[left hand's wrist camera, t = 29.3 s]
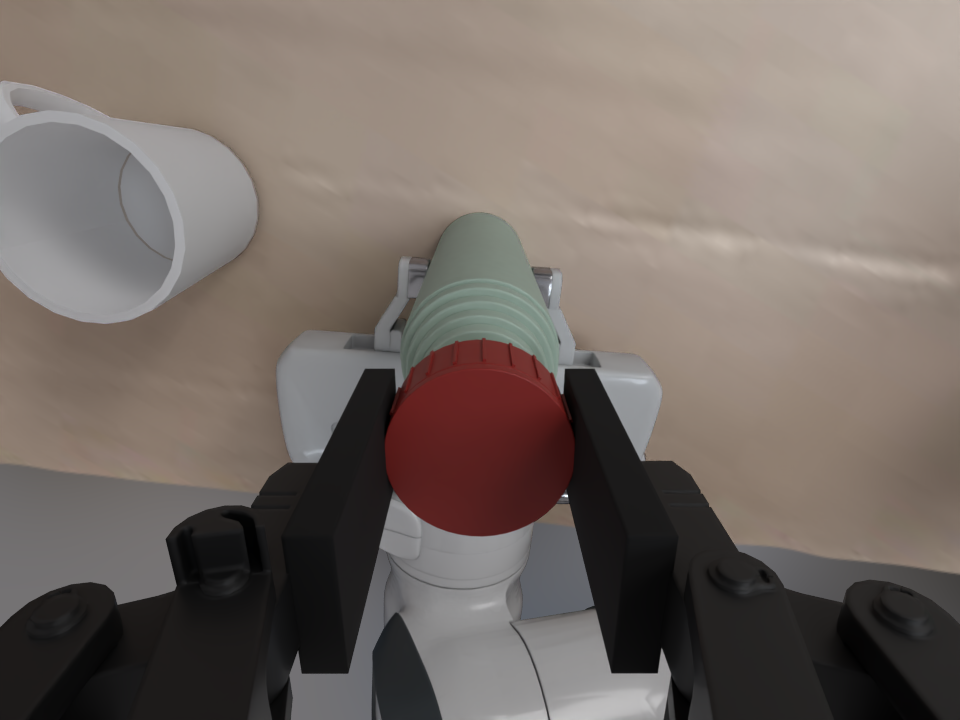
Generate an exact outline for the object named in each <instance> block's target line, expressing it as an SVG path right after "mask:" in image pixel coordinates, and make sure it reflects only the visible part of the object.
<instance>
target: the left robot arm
mask: <svg viewBox="0 0 960 720" xmlns="http://www.w3.org/2000/svg"><path fill="white" fill-rule="evenodd" d="M563 394H564V396H565V399H566V402H567V405H568V408H569V411H570V414H571V417H572V420H573V422H572V423H571V426H572V429H573V432H574V437H575V451H574V466H573V475H572V478H571V480H570V483H569V485H568V487H567V489H566V491H567V495H568V499H569V503H570V507H571V511H572V515H573V519H574V523H575V527H576V531H577V535H578V540H579V543H580V548H581V552H582V556H583V560H584V564H585V568H586V572H587V576H588V580H589V584H590V588H591V592H592V596H593V600H594V605H595V609H596V613H597V617H598V621H599V625H600V629H601V633H602V637H603V641H604V645H605V649H606V653H607V657H608V662H609V666H610V670H611V674H658V669H659V662H660V656H661V649H662V650H663V653H664V655H665V658H666V661H667V664H668V667H669V669H670V672H671V677H670V683H669V689H668V696H667V702H666V708H665V714H664V720H960V624H959V623H958V622H957V621H956V620H955V619H954V618H953V617H952V616H951V615H950V614H949V613H947V612H946V611H945V610H944V609H942V608H941V607H940V606H939V605H937V604H936V603H935V602H933V601H932V600H930V599H929V598H927V597H925V596H923V595H921V594H919V593H917V592H915V591H913V590H911V589H909V588H906V587H903V586H900V585H896V584H894V583H890V582H884V581H876V580H866V581H861V582H855V583H854V584H853V585H852V586H850V587H849V588H848V589H847V590H846V593H845V597H844V600H843V603H842V602H837V601H833V600H828V599H824V598H819V597H815V596H811V595H806V594H802V593H799V592H795V591H792V590H789V589H786V588H784V586H783V584H782V582H781V581H780V579H779V578H778V576H777V575H776V573H775V572H774V571H773V570H771V569H770V568H769V567H768V566H766V565H765V564H764V563H763V562H762V561H760V560H758V559H756V558H753V557H751V556H749V555H747V554H745V553H742V552H739V551H738V550H737V548H736V546H735V545H734V543H733V542H732V540H731V538H730V537H729V535H728V534H727V532H726V530H725V529H724V527H723V526H722V524H721V522H720V521H719V519H718V518H717V516H716V515H715V513H714V511H713V510H712V508H711V507H709V503H708V502H707V500H706V499H705V497H704V495H703V494H701V493H700V489H699V487H698V486H697V484H696V483H695V481H694V479H693V478H692V476H691V475H690V474H689V473H688V472H686V471H685V470H683V469H682V468H681V467H679V466H678V465H677V464H675V463H674V462H673V461H641V460H640V458H639V456H638V454H637V452H636V450H635V448H634V446H633V444H632V442H631V440H630V438H629V436H628V434H627V432H626V430H625V428H624V426H623V424H622V422H621V420H620V418H619V416H618V414H617V412H616V410H615V408H614V406H613V404H612V402H611V400H610V398H609V396H608V394H607V392H606V390H605V388H604V386H603V384H602V382H601V380H600V378H599V376H598V374H597V372H596V370H595V369H565V374H564V391H563ZM395 395H396V380H395V369H364V371H363V373H362V375H361V377H360V379H359V381H358V383H357V385H356V387H355V389H354V391H353V393H352V395H351V397H350V399H349V401H348V403H347V405H346V407H345V409H344V411H343V413H342V415H341V417H340V419H339V421H338V423H337V425H336V427H335V429H334V431H333V433H332V435H331V437H330V439H329V441H328V443H327V445H326V447H325V449H324V451H323V453H322V455H321V457H320V459H319V461H318V463H287V464H286V465H284V466H283V467H282V468H280V469H279V470H277V471H276V472H275V473H273V474H272V475H271V476H269V478H268V480H267V481H266V483H265V484H264V486H263V488H262V489H261V491H260V492H259V496H257V497H256V499H255V500H254V502H253V504H252V505H251V508H249V507H245V506H221V507H217V508H212V509H208V510H205V511H202V512H200V513H198V514H195V515H193V516H191V517H189V518H187V519H186V520H184V521H183V522H182V523H180V524H179V525H177V526H176V527H175V528H174V529H173V530H172V531H171V533H170V534H169V535H168V537H167V538H166V543H167V547H168V551H169V555H170V559H171V563H172V568H173V572H174V576H175V580H176V584H177V587H176V589H175V591H172V592H169V593H166V594H162V595H159V596H155V597H151V598H146V599H142V600H137V601H133V602H129V603H124V604H120V605H117V602H116V598H115V595H114V592H113V591H112V590H110V589H109V588H108V587H107V586H106V585H102V584H97V583H92V582H89V583H80V584H71V585H68V586H65V587H62V588H59V589H56V590H53V591H50V592H48V593H46V594H44V595H42V596H40V597H38V598H37V599H35V600H33V601H31V602H29V603H28V604H26V605H25V606H24V607H23V608H21V609H20V610H19V611H18V612H16V613H15V614H14V615H12V616H11V617H10V618H9V619H8V620H7V621H6V622H5V623H4V624H3V625H2V626H1V627H0V720H291V710H292V699H293V697H292V690H291V683H290V677H289V674H290V671H291V668H292V666H293V663H294V660H295V657H296V654H297V651H299V658H300V665H301V671H302V674H329V673H330V674H338V673H341V674H342V673H343V674H347V673H348V672H349V668H350V664H351V660H352V656H353V652H354V648H355V644H356V640H357V636H358V632H359V628H360V623H361V619H362V615H363V611H364V607H365V603H366V599H367V595H368V591H369V587H370V583H371V579H372V575H373V571H374V567H375V563H376V558H377V554H378V550H379V546H380V542H381V538H382V534H383V530H384V526H385V522H386V518H387V514H388V510H389V506H390V502H391V497H392V493H393V487H392V485H391V483H390V481H389V479H388V476H387V471H386V457H385V435H386V432H387V428H388V425H389V422H390V419H391V415H389V414H390V411H391V408H392V405H393V402H394V398H395Z"/></svg>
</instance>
